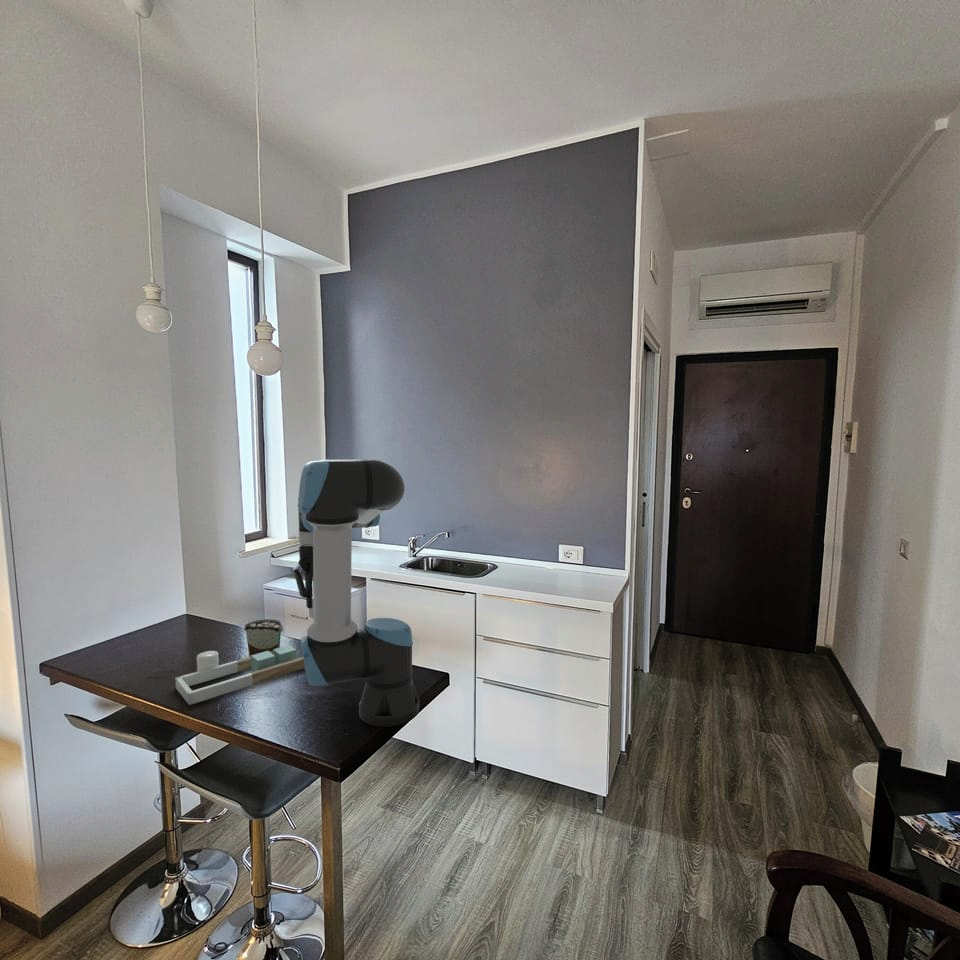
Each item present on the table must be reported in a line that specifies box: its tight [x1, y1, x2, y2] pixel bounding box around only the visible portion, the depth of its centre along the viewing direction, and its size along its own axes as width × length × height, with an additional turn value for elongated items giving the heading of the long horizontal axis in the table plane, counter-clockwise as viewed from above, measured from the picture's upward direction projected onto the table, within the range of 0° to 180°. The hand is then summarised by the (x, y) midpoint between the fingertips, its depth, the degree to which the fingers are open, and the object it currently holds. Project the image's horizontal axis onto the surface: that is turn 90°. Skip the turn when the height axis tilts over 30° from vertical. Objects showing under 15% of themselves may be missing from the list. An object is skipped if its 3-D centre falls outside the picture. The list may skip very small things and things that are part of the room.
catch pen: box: [174, 660, 254, 706], centre depth 148 cm, size 12×16×3 cm
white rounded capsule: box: [196, 650, 220, 672], centre depth 155 cm, size 6×6×6 cm
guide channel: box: [236, 645, 305, 686], centre depth 159 cm, size 12×17×3 cm
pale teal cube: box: [250, 651, 275, 672], centre depth 157 cm, size 5×5×5 cm
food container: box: [243, 618, 284, 657], centre depth 171 cm, size 12×6×10 cm, turn 84°
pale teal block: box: [273, 644, 297, 665], centre depth 162 cm, size 5×5×5 cm
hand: (313, 617), depth 167 cm, fingers closed
